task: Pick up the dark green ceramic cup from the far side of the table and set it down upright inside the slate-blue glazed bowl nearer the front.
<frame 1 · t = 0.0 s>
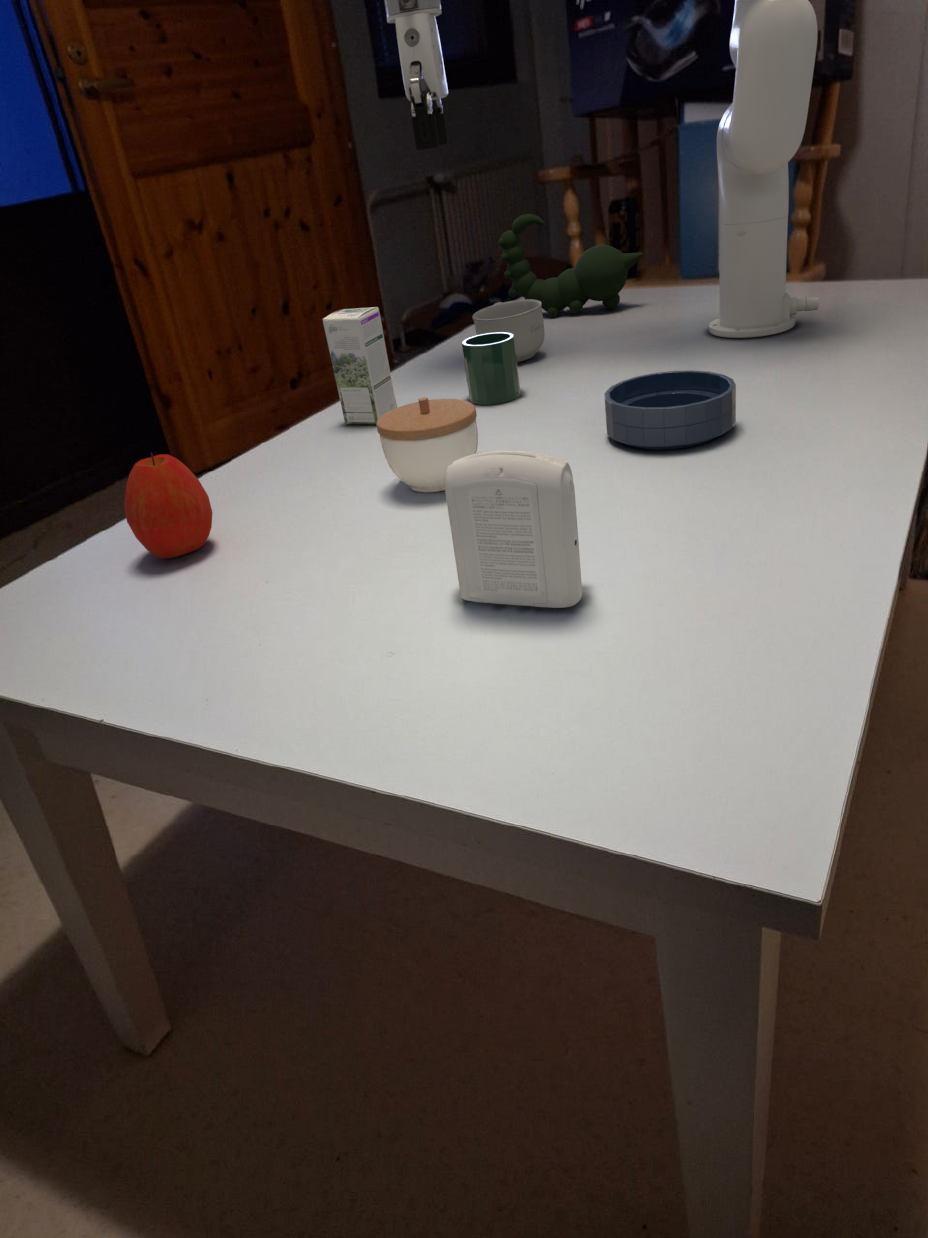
hand: (432, 146, 130), 31 cm above the table, tool pointing down, fingers open, 9 cm apart
green cup: (495, 397, 125), on the table
apple: (182, 553, 92), on the table
trinket box: (437, 483, 99), on the table
photo printer: (522, 598, 73), on the table
blue bowl: (670, 431, 103), on the table
toy figurine: (575, 313, 166), on the table
syrup box: (371, 420, 125), on the table
teacup: (512, 357, 144), on the table
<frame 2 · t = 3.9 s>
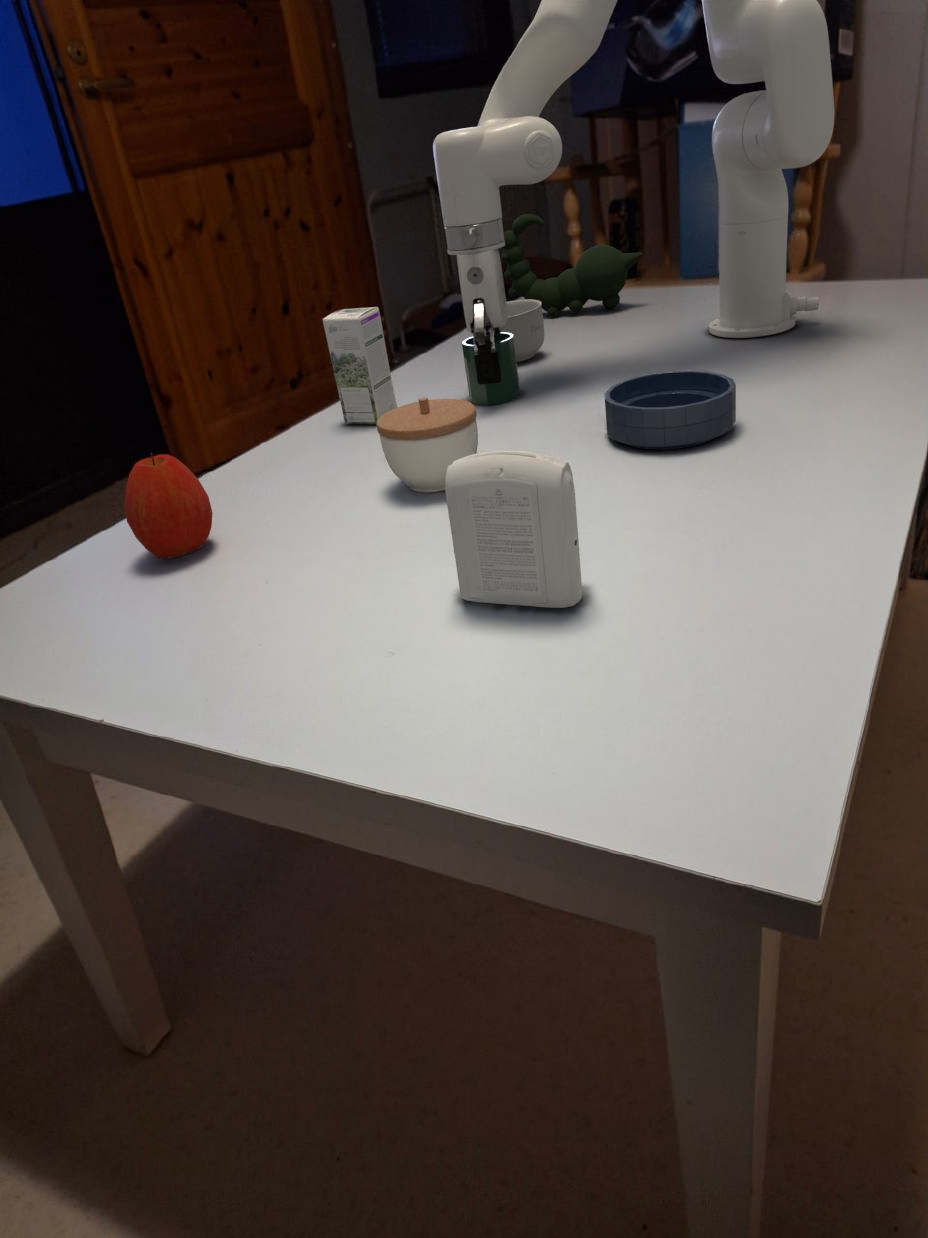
hand: (492, 374, 124), 3 cm above the table, tool pointing down, fingers closed on green cup, 7 cm apart
green cup: (495, 397, 125), on the table, touching gripper
everything else where it was.
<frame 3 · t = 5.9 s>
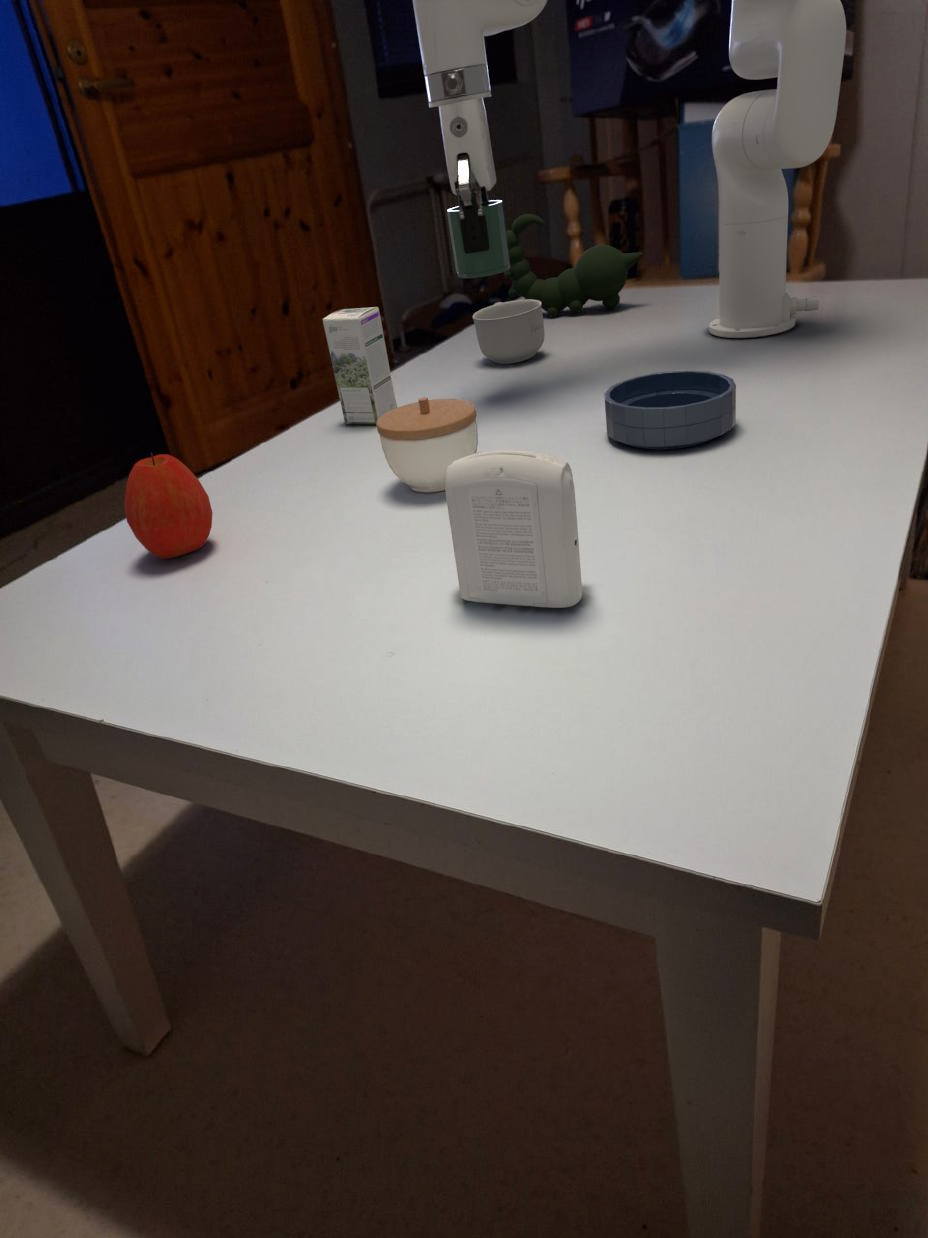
hand: (480, 245, 115), 20 cm above the table, tool pointing down, fingers closed on green cup, 7 cm apart
green cup: (483, 271, 117), point 17 cm above the table, touching gripper
everything else where it was.
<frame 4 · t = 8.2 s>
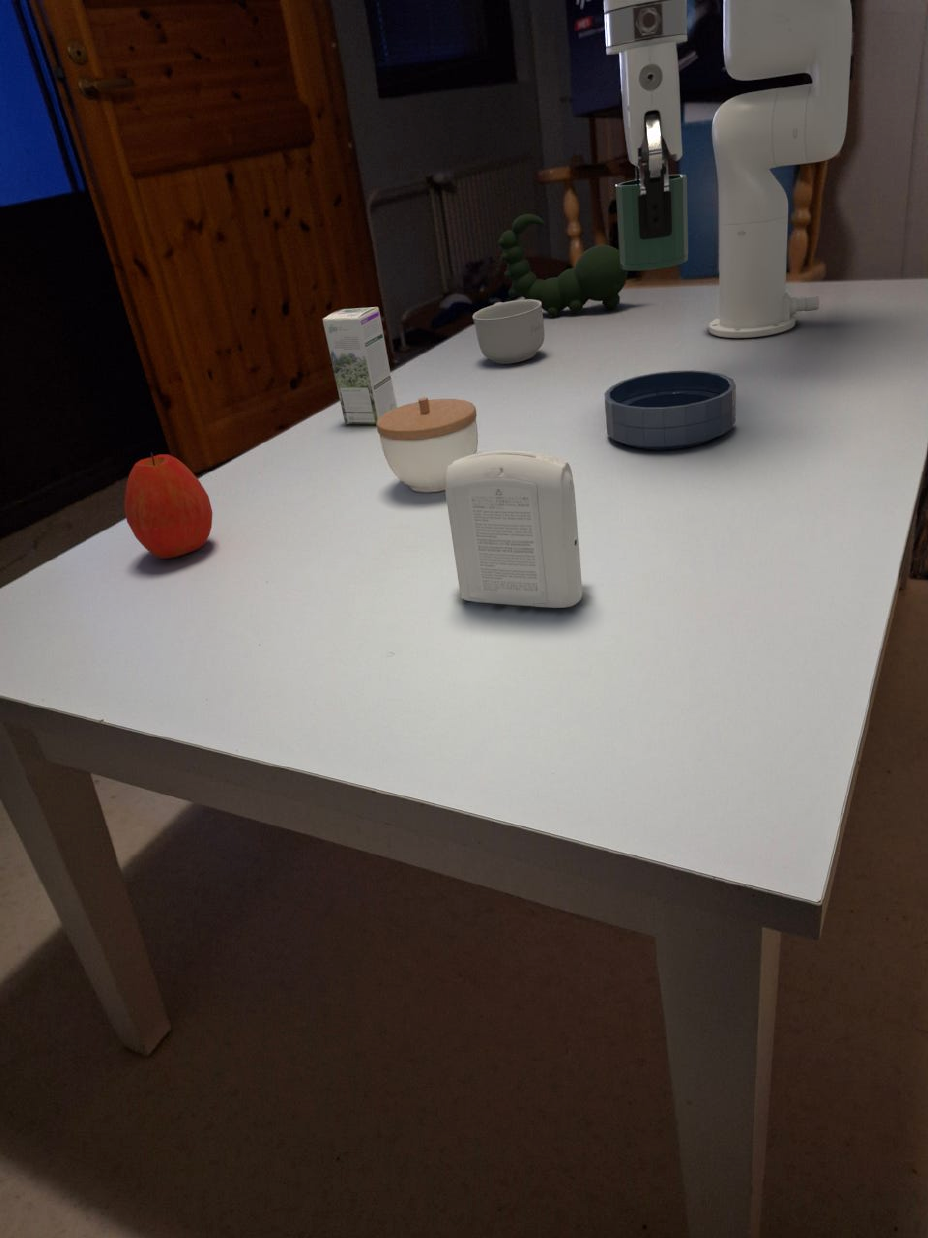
hand: (653, 230, 93), 21 cm above the table, tool pointing down, fingers closed on green cup, 7 cm apart
green cup: (653, 263, 95), point 18 cm above the table, touching gripper
everything else where it was.
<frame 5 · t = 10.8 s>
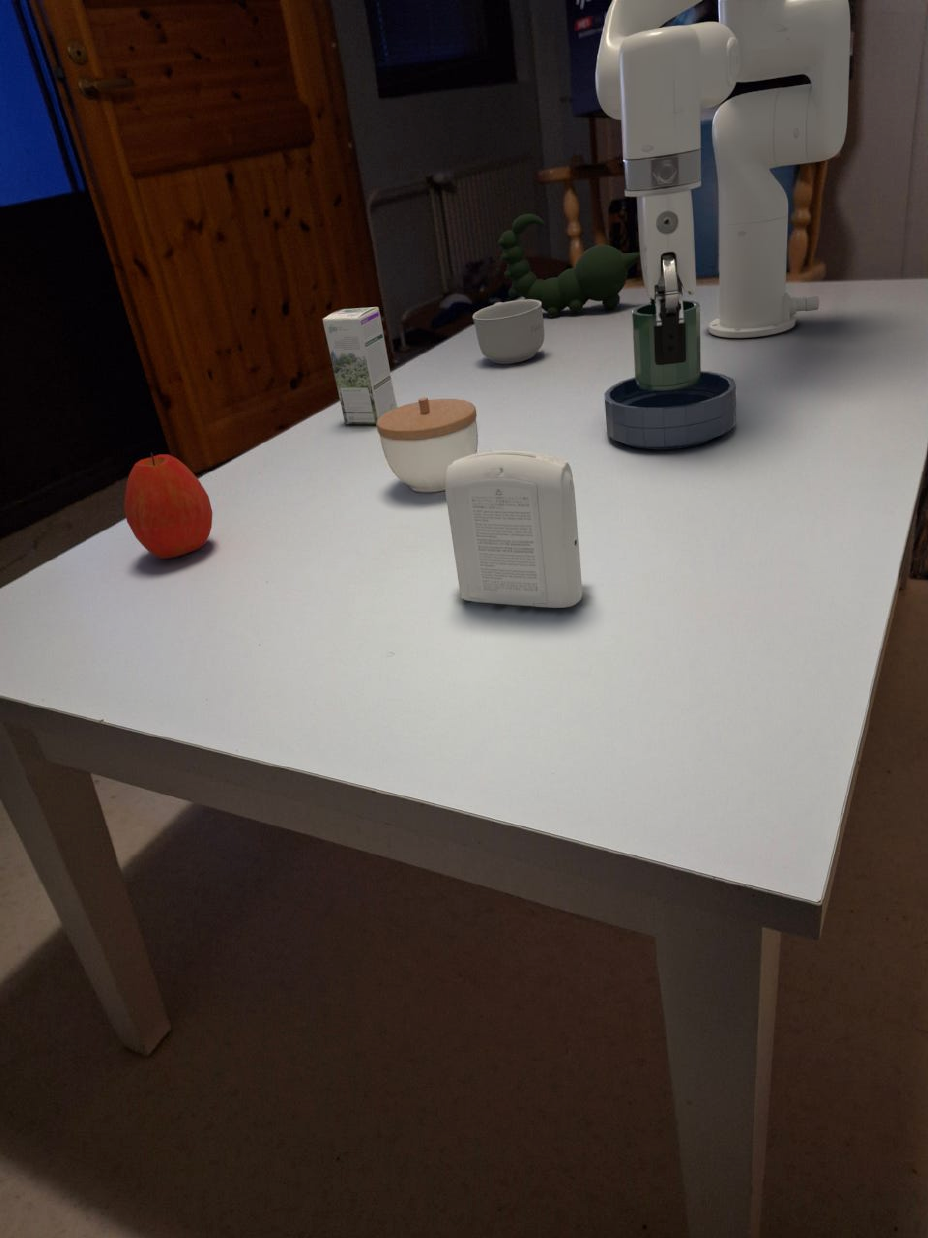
hand: (667, 352, 98), 9 cm above the table, tool pointing down, fingers closed on green cup, 7 cm apart
green cup: (667, 381, 100), point 6 cm above the table, touching gripper
everything else where it was.
when the fingers open (4 cm above the table, at t = 12.6 s): green cup stays where it is, resting on blue bowl.
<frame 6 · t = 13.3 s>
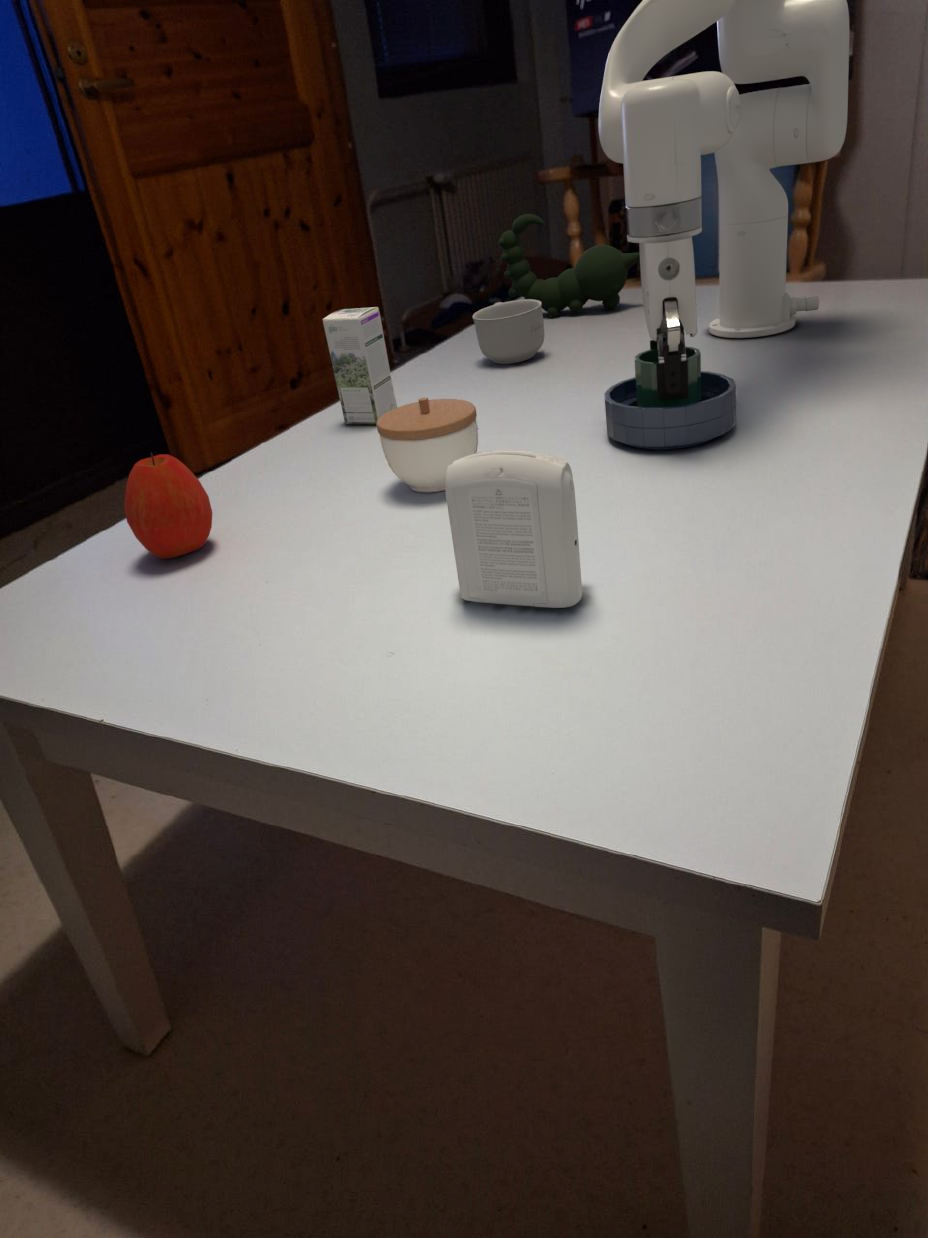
hand: (669, 385, 100), 5 cm above the table, tool pointing down, fingers open, 9 cm apart
green cup: (669, 425, 102), point 1 cm above the table, touching blue bowl
everything else where it was.
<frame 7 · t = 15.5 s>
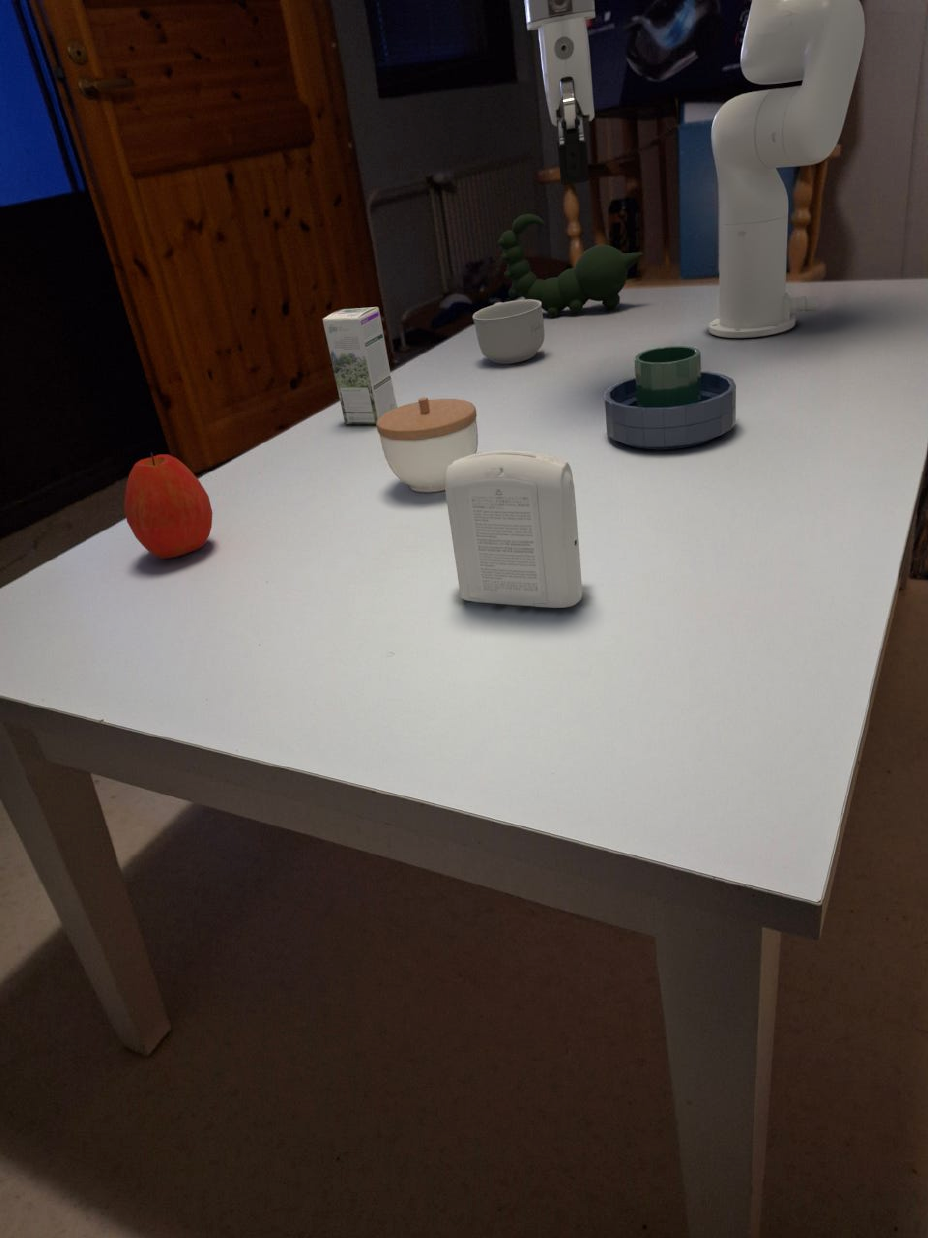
hand: (574, 179, 107), 26 cm above the table, tool pointing down, fingers open, 9 cm apart
nothing on the table moved.
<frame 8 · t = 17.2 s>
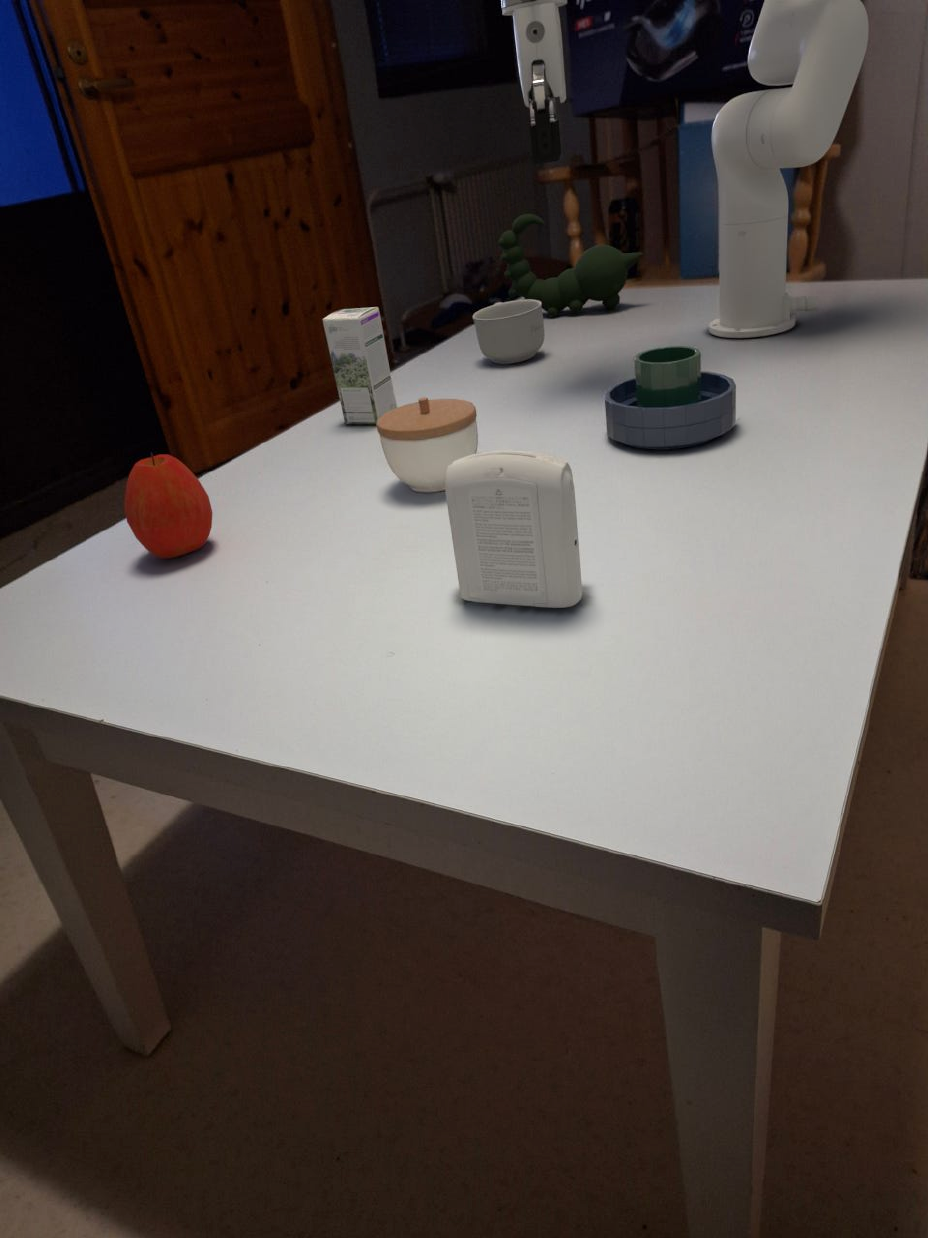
hand: (547, 159, 111), 28 cm above the table, tool pointing down, fingers open, 9 cm apart
nothing on the table moved.
at the end: green cup 0.1 cm off-centre in the blue bowl, point 0.8 cm above the blue bowl's base; green cup tilted 0°; the gripper is holding nothing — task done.
